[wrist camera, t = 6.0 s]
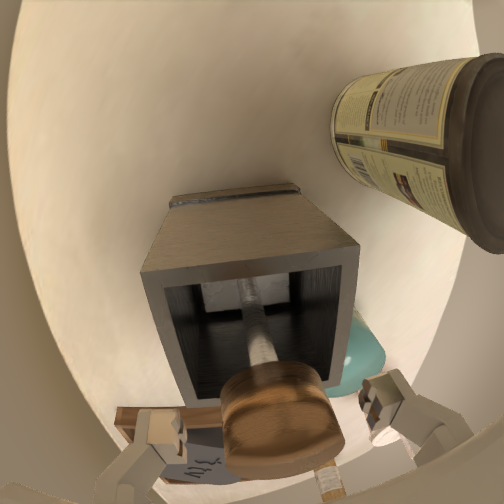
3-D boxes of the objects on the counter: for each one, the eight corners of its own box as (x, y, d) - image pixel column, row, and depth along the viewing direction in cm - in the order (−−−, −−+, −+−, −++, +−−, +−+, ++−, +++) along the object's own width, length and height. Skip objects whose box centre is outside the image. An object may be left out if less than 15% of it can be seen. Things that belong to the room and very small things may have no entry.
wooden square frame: (117, 407, 31) (114, 424, 28) (290, 394, 33) (295, 412, 30) (166, 471, 41) (166, 484, 38) (287, 461, 42) (290, 474, 40)
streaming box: (165, 404, 32) (162, 437, 27) (266, 423, 36) (272, 452, 31) (147, 447, 37) (144, 473, 32) (229, 461, 40) (232, 486, 36)
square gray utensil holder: (172, 196, 22) (134, 268, 11) (293, 183, 22) (364, 240, 12) (191, 299, 26) (184, 410, 15) (295, 286, 26) (342, 386, 15)
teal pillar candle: (292, 302, 27) (314, 352, 21) (359, 291, 28) (393, 334, 21) (292, 354, 30) (309, 404, 24) (351, 342, 31) (376, 386, 24)
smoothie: (373, 391, 36) (412, 466, 23) (337, 393, 34) (373, 479, 22) (396, 360, 33) (445, 437, 21) (359, 360, 32) (408, 451, 19)
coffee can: (437, 110, 21) (561, 129, 8) (403, 204, 24) (517, 274, 12) (351, 52, 18) (479, 9, 5) (310, 161, 22) (426, 214, 9)
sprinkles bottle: (328, 459, 45) (345, 513, 33) (306, 463, 44) (322, 519, 32) (336, 449, 43) (356, 507, 31) (314, 453, 42) (332, 513, 30)
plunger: (192, 229, 19) (165, 425, 6) (284, 218, 20) (397, 384, 7) (206, 306, 22) (210, 493, 9) (286, 295, 22) (355, 467, 9)
